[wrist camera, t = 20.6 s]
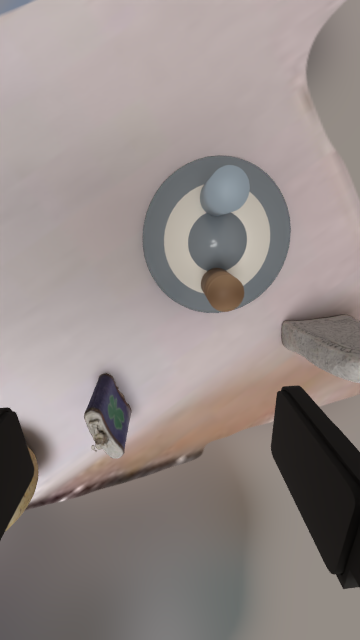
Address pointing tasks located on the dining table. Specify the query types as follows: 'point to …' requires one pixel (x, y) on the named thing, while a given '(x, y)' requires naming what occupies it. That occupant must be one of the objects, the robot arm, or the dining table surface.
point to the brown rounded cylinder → (222, 289)
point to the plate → (214, 234)
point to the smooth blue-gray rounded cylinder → (225, 191)
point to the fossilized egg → (28, 493)
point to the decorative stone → (327, 344)
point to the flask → (108, 417)
